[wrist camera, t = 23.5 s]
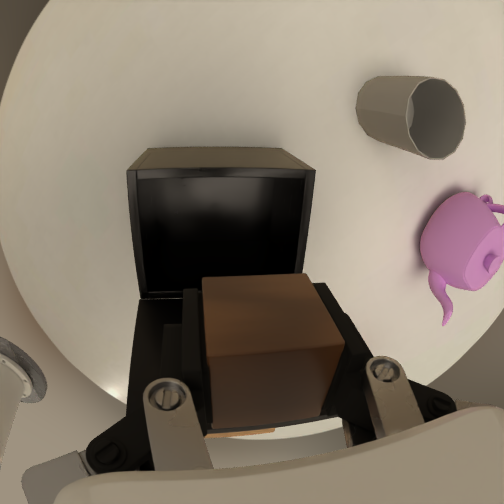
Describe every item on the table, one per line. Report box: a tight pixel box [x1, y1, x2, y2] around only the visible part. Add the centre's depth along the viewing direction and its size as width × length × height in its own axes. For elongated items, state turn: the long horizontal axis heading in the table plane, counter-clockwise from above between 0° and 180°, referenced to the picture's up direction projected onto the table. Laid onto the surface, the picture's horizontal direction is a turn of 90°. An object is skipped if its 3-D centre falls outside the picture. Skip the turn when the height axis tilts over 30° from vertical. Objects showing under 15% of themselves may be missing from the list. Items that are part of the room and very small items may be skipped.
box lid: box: [126, 298, 338, 438], centre depth 24 cm, size 12×15×5 cm
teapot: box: [420, 192, 504, 326], centre depth 38 cm, size 20×13×12 cm, turn 143°
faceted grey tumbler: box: [356, 76, 466, 160], centre depth 28 cm, size 8×8×10 cm
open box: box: [126, 147, 316, 299], centre depth 30 cm, size 12×15×11 cm
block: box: [202, 273, 345, 429], centre depth 10 cm, size 4×4×4 cm
